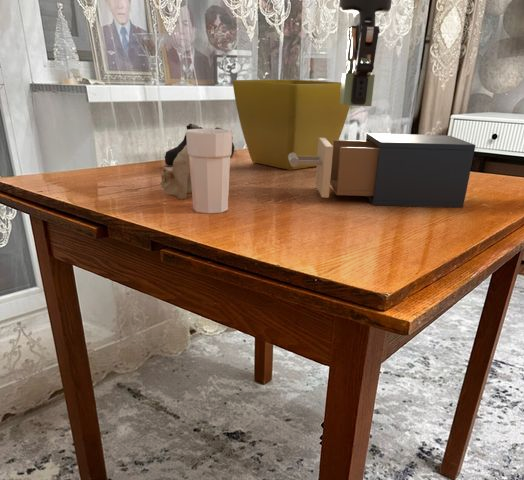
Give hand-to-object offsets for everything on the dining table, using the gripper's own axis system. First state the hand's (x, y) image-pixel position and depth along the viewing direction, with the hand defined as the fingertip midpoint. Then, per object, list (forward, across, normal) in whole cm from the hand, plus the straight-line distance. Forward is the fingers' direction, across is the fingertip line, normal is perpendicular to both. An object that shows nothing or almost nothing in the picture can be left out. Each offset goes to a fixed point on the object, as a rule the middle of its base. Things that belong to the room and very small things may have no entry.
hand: (355, 102), depth 86 cm
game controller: (+15, +24, +27) cm, 39 cm away
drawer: (+14, 0, +1) cm, 14 cm away
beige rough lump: (+15, -2, +28) cm, 32 cm away
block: (0, 0, 0) cm, 0 cm away
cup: (+15, -12, +22) cm, 29 cm away
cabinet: (+15, 0, -11) cm, 18 cm away
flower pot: (+15, +33, +8) cm, 37 cm away
